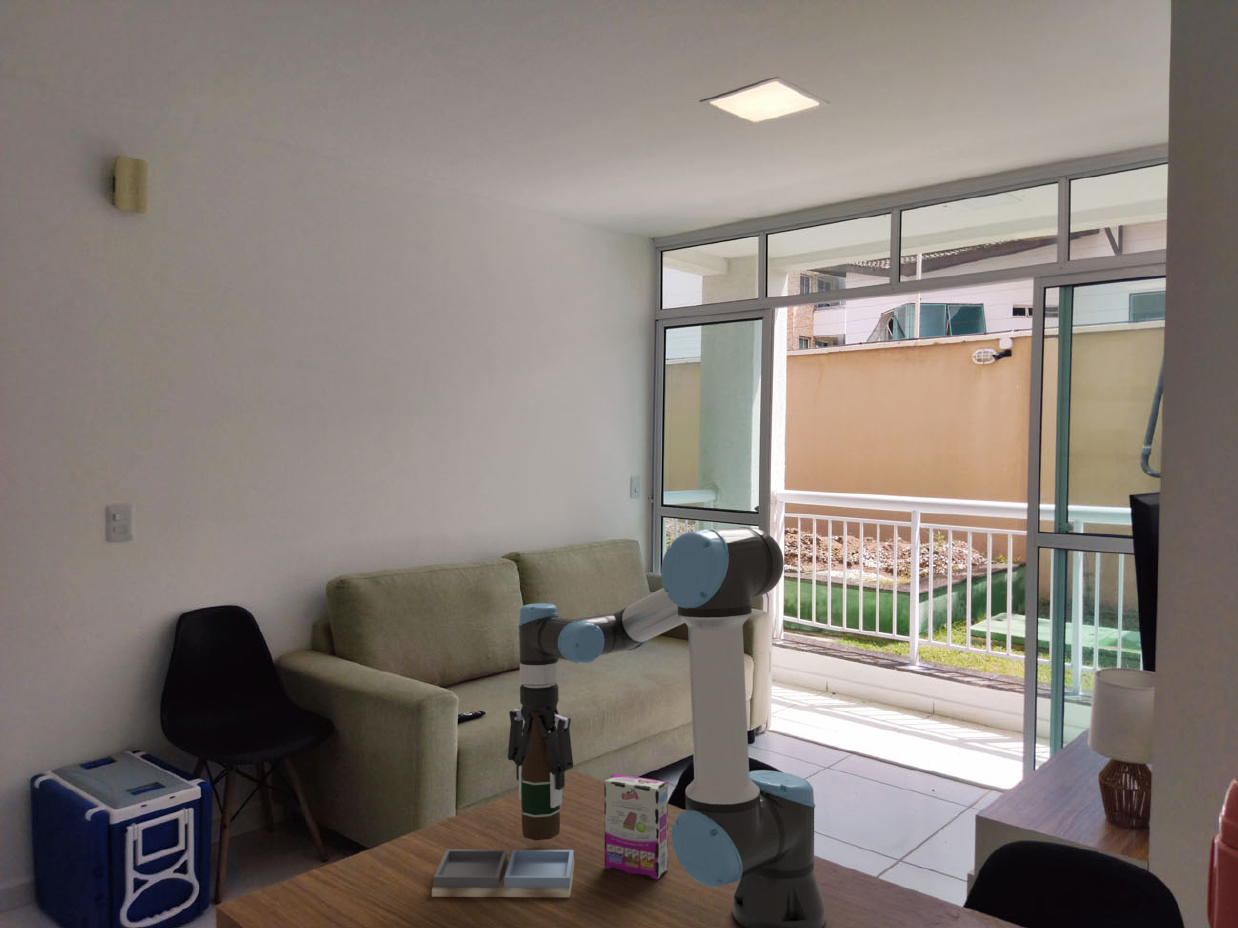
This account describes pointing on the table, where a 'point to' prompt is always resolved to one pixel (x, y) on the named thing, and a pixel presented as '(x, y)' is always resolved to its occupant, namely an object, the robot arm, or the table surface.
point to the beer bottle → (537, 790)
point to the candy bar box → (636, 825)
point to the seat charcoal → (470, 869)
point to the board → (503, 890)
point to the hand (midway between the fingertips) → (540, 801)
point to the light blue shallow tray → (539, 869)
